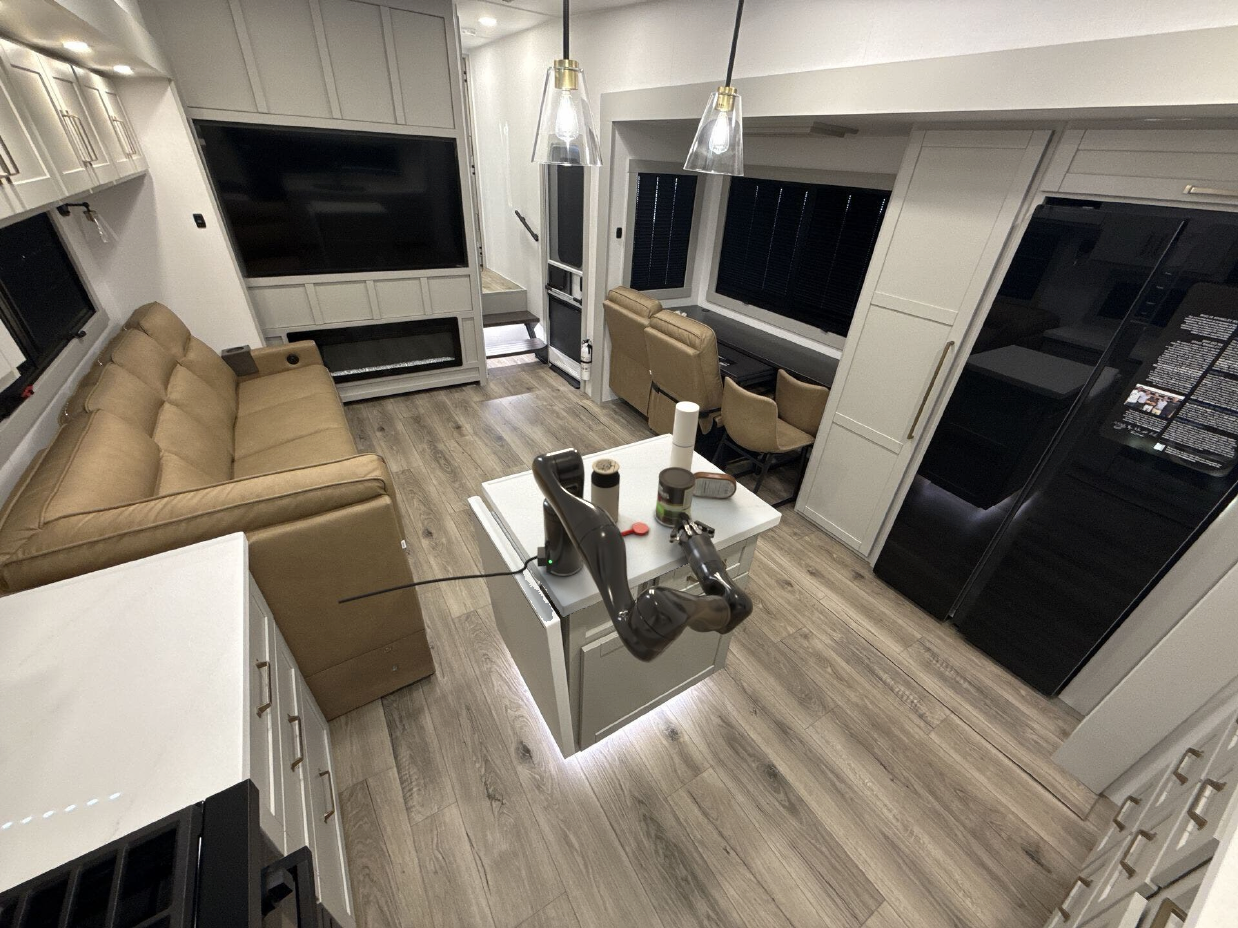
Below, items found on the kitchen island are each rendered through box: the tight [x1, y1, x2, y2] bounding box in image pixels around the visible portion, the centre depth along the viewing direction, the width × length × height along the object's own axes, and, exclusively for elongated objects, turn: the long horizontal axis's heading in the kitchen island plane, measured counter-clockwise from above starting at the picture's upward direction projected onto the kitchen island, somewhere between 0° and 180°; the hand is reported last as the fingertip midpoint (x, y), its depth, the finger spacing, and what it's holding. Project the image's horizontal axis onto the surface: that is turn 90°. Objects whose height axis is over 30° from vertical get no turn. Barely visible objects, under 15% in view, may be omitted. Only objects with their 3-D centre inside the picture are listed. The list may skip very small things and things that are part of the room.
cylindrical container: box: [668, 401, 700, 472], centre depth 154 cm, size 7×7×25 cm
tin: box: [693, 471, 738, 500], centre depth 149 cm, size 15×3×8 cm, turn 84°
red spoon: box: [621, 522, 649, 537], centre depth 134 cm, size 16×5×1 cm, turn 117°
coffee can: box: [654, 467, 696, 528], centre depth 138 cm, size 10×10×14 cm
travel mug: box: [590, 458, 621, 523], centre depth 136 cm, size 8×8×18 cm
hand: (681, 514), depth 133 cm, fingers closed
